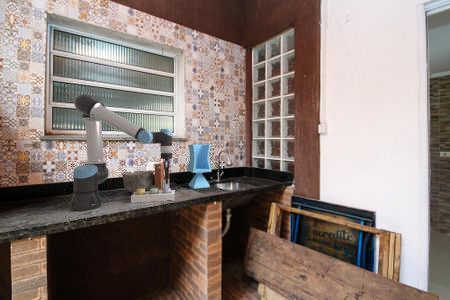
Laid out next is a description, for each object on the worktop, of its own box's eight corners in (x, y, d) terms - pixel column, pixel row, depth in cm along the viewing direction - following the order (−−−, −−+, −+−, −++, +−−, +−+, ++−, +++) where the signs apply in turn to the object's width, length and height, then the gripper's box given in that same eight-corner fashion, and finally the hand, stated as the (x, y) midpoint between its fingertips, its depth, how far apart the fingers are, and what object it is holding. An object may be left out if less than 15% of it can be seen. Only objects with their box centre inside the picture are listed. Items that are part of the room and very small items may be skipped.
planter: (193, 189, 176) (193, 144, 175) (187, 185, 190) (186, 144, 189) (211, 187, 183) (211, 144, 182) (204, 184, 197) (204, 144, 196)
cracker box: (170, 190, 173) (161, 194, 159) (162, 189, 175) (152, 194, 160) (170, 162, 172) (161, 164, 158) (162, 162, 174) (152, 164, 159)
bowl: (157, 189, 176) (157, 170, 175) (148, 195, 154) (148, 174, 154) (129, 189, 175) (128, 170, 175) (116, 196, 153) (116, 174, 153)
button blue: (162, 195, 144) (162, 189, 144) (163, 193, 149) (163, 188, 149) (170, 194, 145) (170, 189, 145) (170, 193, 150) (170, 188, 150)
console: (131, 202, 136) (130, 196, 136) (134, 198, 148) (134, 192, 148) (174, 200, 142) (174, 194, 142) (174, 195, 154) (174, 190, 154)
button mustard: (136, 195, 140) (136, 190, 140) (137, 193, 145) (137, 188, 145) (144, 195, 141) (144, 189, 141) (145, 193, 146) (145, 188, 146)
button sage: (149, 194, 142) (149, 189, 142) (150, 193, 147) (150, 187, 147) (157, 194, 143) (157, 189, 143) (158, 192, 148) (158, 187, 148)
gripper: (172, 152, 140) (172, 190, 141) (172, 152, 153) (172, 186, 154) (159, 153, 139) (160, 191, 140) (161, 152, 152) (161, 187, 152)
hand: (167, 188), depth 147 cm, fingers closed
